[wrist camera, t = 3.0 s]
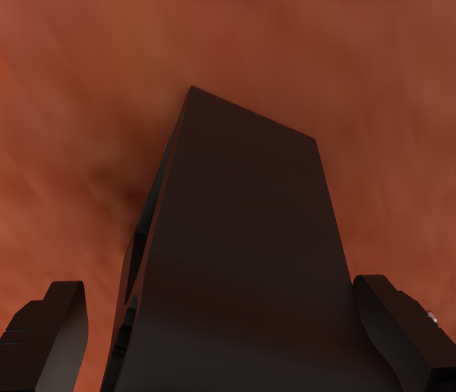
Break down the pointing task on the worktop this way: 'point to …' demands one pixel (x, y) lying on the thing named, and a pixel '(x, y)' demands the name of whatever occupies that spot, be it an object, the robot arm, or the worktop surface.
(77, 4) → the worktop surface
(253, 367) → the phone stand
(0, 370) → the robot arm
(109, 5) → the worktop surface
